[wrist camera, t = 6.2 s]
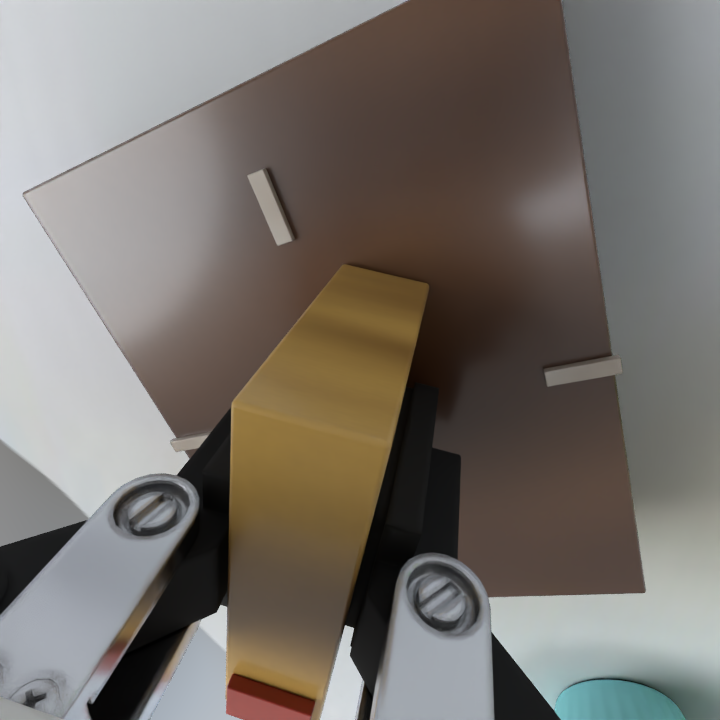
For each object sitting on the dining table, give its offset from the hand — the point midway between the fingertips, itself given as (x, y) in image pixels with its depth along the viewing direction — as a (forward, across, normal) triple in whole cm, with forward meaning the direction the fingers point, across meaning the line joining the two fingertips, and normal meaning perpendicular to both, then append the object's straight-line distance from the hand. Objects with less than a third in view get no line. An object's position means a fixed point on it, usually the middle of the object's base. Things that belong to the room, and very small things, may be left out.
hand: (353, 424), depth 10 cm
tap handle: (0, 0, 0) cm, 0 cm away
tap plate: (+4, 0, 0) cm, 4 cm away
